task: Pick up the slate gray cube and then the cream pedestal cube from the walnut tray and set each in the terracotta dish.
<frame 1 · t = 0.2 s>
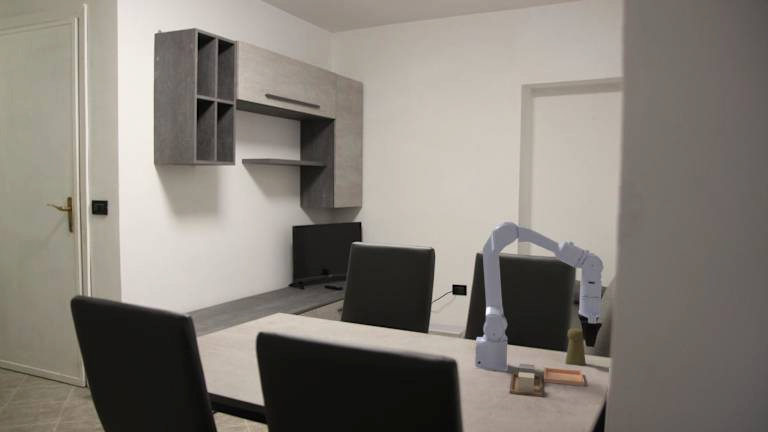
hand: (588, 343, 160), 10 cm above the table, tool pointing down, fingers open, 7 cm apart
terracotta dish: (563, 379, 158), on the table
walnut tray: (526, 387, 151), on the table
cork: (575, 364, 173), on the table
slate gray cube: (526, 380, 155), resting on walnut tray
cream pedestal cube: (525, 390, 147), resting on walnut tray
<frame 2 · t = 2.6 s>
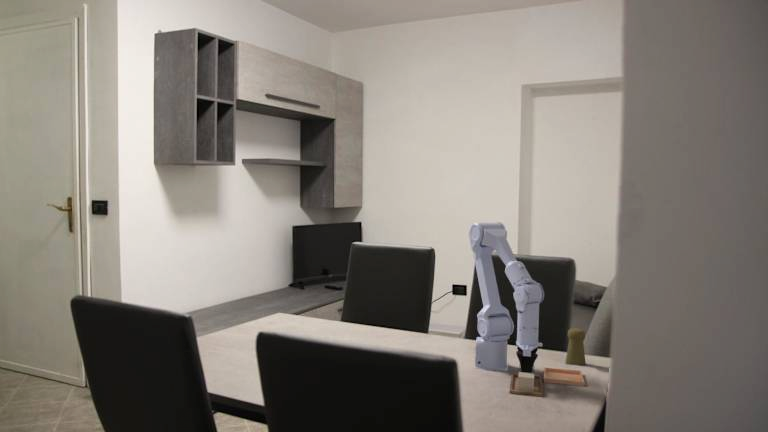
hand: (526, 375, 155), 2 cm above the table, tool pointing down, fingers closed on slate gray cube, 4 cm apart
slate gray cube: (526, 380, 155), resting on walnut tray, touching gripper
everything else where it was.
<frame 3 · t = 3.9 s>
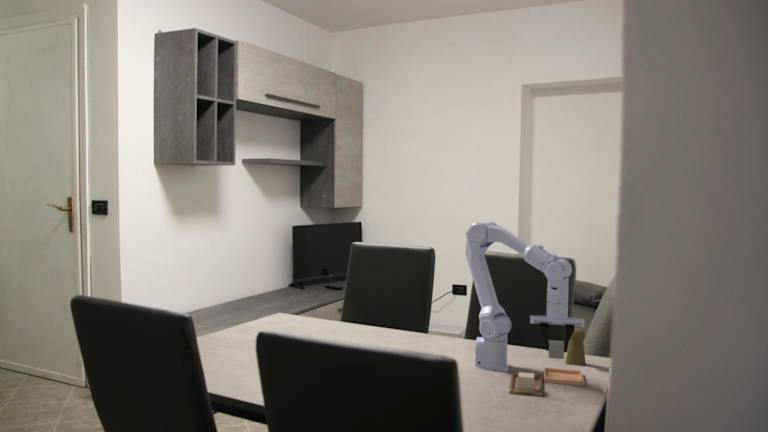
hand: (556, 350, 156), 9 cm above the table, tool pointing down, fingers closed on slate gray cube, 4 cm apart
slate gray cube: (555, 356, 156), point 7 cm above the table, touching gripper
everything else where it was.
when the fingers open (4 cm above the table, at t = 5.2 s): slate gray cube drops 1 cm, resting on terracotta dish.
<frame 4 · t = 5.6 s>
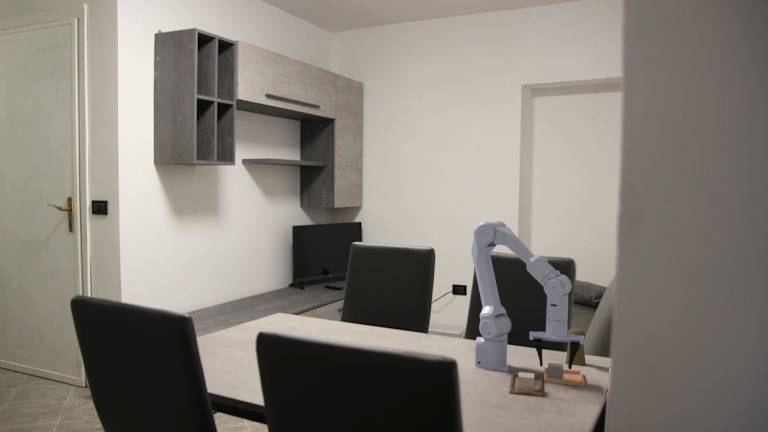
hand: (555, 366, 156), 4 cm above the table, tool pointing down, fingers open, 7 cm apart
slate gray cube: (555, 379, 156), resting on terracotta dish
everything else where it was.
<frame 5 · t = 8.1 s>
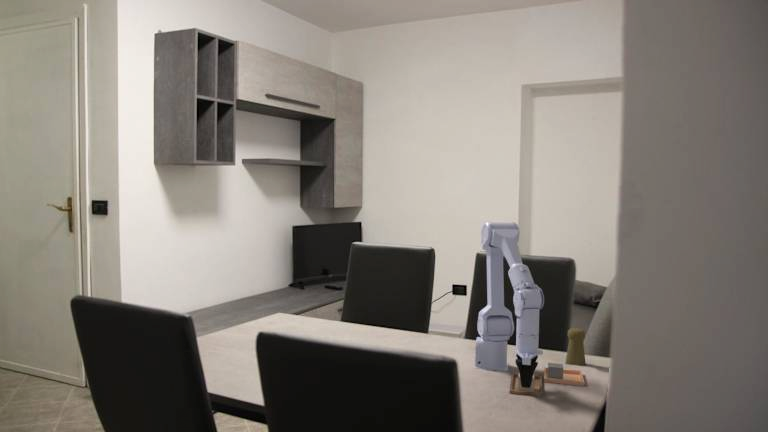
hand: (526, 384, 147), 2 cm above the table, tool pointing down, fingers closed on cream pedestal cube, 4 cm apart
cream pedestal cube: (525, 390, 147), resting on walnut tray, touching gripper
everything else where it was.
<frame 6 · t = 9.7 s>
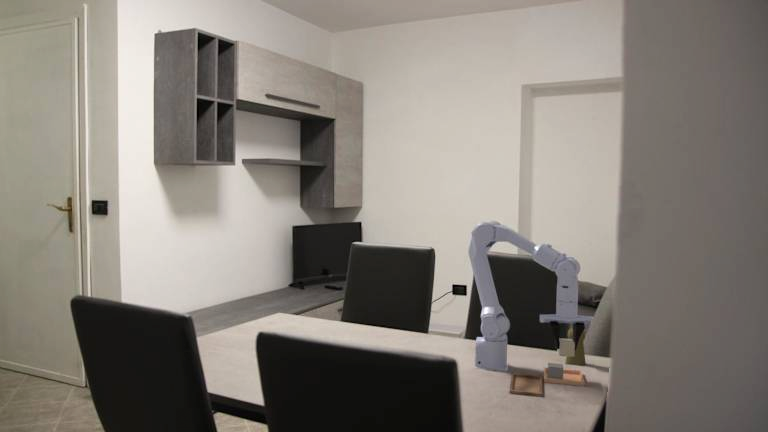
hand: (565, 348, 157), 9 cm above the table, tool pointing down, fingers closed on cream pedestal cube, 4 cm apart
cream pedestal cube: (565, 354, 157), point 7 cm above the table, touching gripper
everything else where it was.
when the fingers open (4 cm above the table, at t = 11.3 s): cream pedestal cube drops 1 cm, resting on terracotta dish.
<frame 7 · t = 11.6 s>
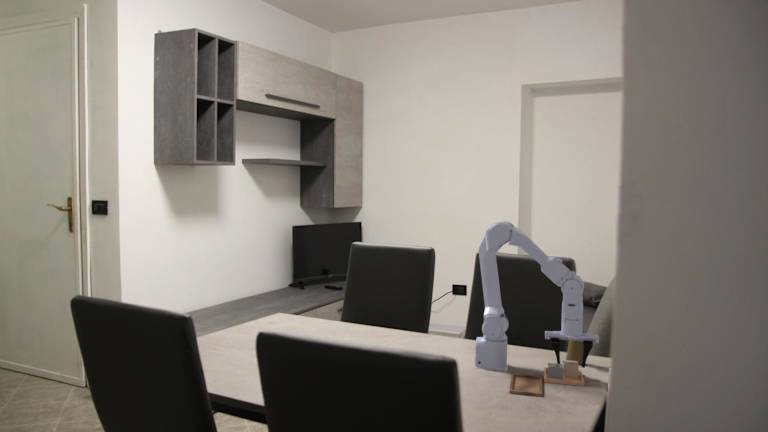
hand: (570, 365, 159), 4 cm above the table, tool pointing down, fingers open, 6 cm apart
cream pedestal cube: (570, 376, 159), resting on terracotta dish
everything else where it was.
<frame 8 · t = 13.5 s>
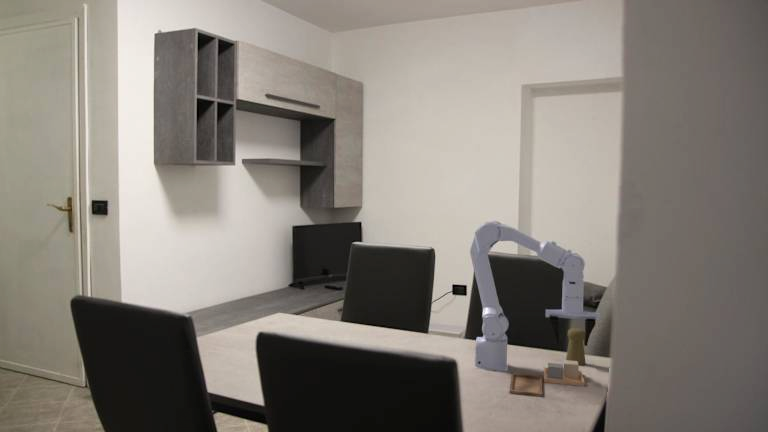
hand: (571, 343, 159), 10 cm above the table, tool pointing down, fingers open, 7 cm apart
nothing on the table moved.
at the end: slate gray cube inside the target area on the terracotta dish (3.1 cm from its centre), point 0.5 cm above the terracotta dish's base; cream pedestal cube inside the target area on the terracotta dish (3.0 cm from its centre), point 0.5 cm above the terracotta dish's base; the gripper is holding nothing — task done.
